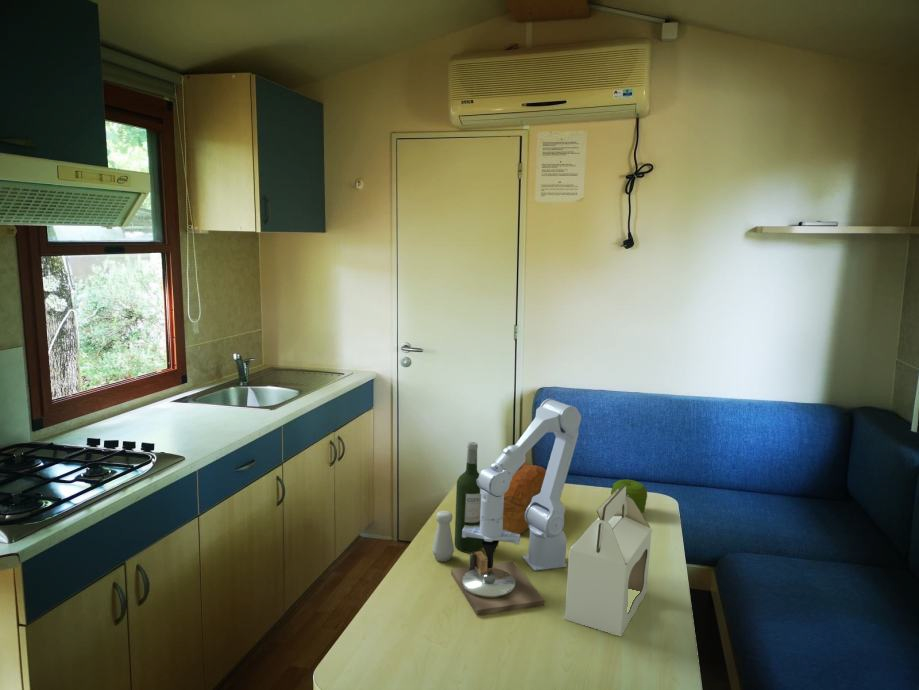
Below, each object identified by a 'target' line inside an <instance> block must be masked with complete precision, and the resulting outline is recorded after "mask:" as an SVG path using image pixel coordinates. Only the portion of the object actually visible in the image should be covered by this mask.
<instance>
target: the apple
mask: <svg viewBox="0 0 919 690" xmlns="http://www.w3.org/2000/svg"><path fill="white" fill-rule="evenodd" d="M623 486H626V494H628V496H629V497H631V498H632V499H633V500H634V502H635V503H636V505H637V507H638V508H639V510H640V511H641V513H642V514H643V513H645V509H646V506H647V505H646V504H647V499H648V490H647V489H648V488H646V486H644V484H642V482H639V481H636V480H632V479H619V480H617V481H615V482H613V484H612V486H611V487H612V488H611V491H610V496H611V495H612V494H613V493H614V491H615V490H616V489H617V488H618V489H619V490H620V489H621V488H622V487H623ZM626 517H627V515H626Z"/></svg>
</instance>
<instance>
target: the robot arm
mask: <svg viewBox="0 0 919 690" xmlns="http://www.w3.org/2000/svg"><path fill="white" fill-rule="evenodd" d="M581 420H582V415H581V412H579V410H578V408H577V407H576V406H573V405H569V404H566V403H563V402H561V401H557V400H556V399H553V398H547V399H544V401H542V402H541V404H540V406H538V407H537V408H536V410H535V417H534V419H533V420H532V421H531V423H530V424H529V426H528V427H527V429H526V430H525V431H524V432H523V434H522V435H521V436H520V438H519V439H518V440H517V442H515V444H513V445H512V444H511V445H507V447H505V448H504V449H503V450H502V453H501V454H500V455H499V456H498V457H496V459H495V461H493V463H492V464H491V465H490V466H489V467H486V468H484V469H482V470H481V471H480V473H479V477H478V479H477V480H476V481H477V485H478V486H479V488H480V494H481V511H480V527H477V528H467V527H464V528H463V530H462V537H463V538H466V537H472V538H480V539H483V540H482V550H483V551H484V554H485V557H486V558H487V559H488V562H487V568H492V566H493V564H494V553H495V551H496V549H497V548H498V546H499V542H504V543H513V544H514V545H520V542H521V534H515V533H511V532H508V531H505V530H503V506H504V493H505V492H507V491H508V489H509V486H510V482H511V480H512V476H513V475H514V474H515V473H516V472H517V470H518V469H519V468H520V467H521V466H522V464H523V463H525V462H526V454H527V453H528V452H529V451H531V449H532V448H533V447H534V446H535V445H536V444H537V443H538V442H539V441H540V439H541V438H542V437H544V436H545V435H546V434H547V433H553V434H554V436H555V438H554V444H553V447H552V450H551V453H550V458H549V460H548V463H547V468H546V474H545V478H544V481H543V485H542V488H541V492H540V494H538V495H536V496H534V497H532V500H531V503H530V505H529V506H528V507H527V509H526V512H525V520H526V522H527V523H529V528H528V529H529V543H528V554H526V555H525V554H524V555H522V559H524V561H525V562H526V563H527V564H528V566H529V567H530V568H531V569H532V570H533V571H535V572H536V571H544V570H551V569H552V570H553V569H558V568H566V567H567V563H566V559H567V558H566V556H567V536H566V534H565V531H564V530H563V529H564V526H565V513H566V509H565V506H564V504H563V503H562V501H561V498H562V494H563V490H564V487H565V483H566V480H567V476H568V473H569V470H570V466H571V462H572V458H573V455H574V452H575V448H576V445H577V441H578V438H579V427H580V424H581Z"/></svg>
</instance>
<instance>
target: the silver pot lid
mask: <svg viewBox="0 0 919 690" xmlns="http://www.w3.org/2000/svg"><path fill="white" fill-rule="evenodd" d="M474 553H475V554H476V555H475V567H476V568H477V569H473V570H470V571H468V572H467V573H466V574H465V575H464V576H463V579H462V585H463V587H464V589H465V590H466V591H467V592H469V593H471V594H473V595H475V596H479V597H483V598H499V597H504V596H507V595H509V594H510V593H512V592H513V591H514V589H515V579H514V577H513V576H512V575H511V574H509V573H507V572H505V571H503V570H500V569H496V568H487V562H488V559H487V556H486V554H485V553H483V552H482V551H480V550H479V551H476V552H474Z"/></svg>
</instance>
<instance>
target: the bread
mask: <svg viewBox="0 0 919 690" xmlns="http://www.w3.org/2000/svg"><path fill="white" fill-rule="evenodd" d="M546 471H547V469H545V468H544V467H543V466H539V465H536V464H534V465H533V464H532V465H531V464H529V463H525V462H524V463H523V464H522V466H521V467H520V468H519V469H518V470H517V472H516V473H515V474H514V475H513V476H512V480H511V482H510V486H509V489H508V491H507V492H505V493H504V506H503V530H505V531H508V532H511V533H515V534H520V535H521V534H523V533H524V532H526V531H527V530H528V529H530V528H529V523H527V522H526V520H525V512H526V509H527V507H528V506H529V505H530V503H531V500H532V497H534V496H536V495H538V494H540V492H541V488H542V485H543V481H544V478H545V474H546Z"/></svg>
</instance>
